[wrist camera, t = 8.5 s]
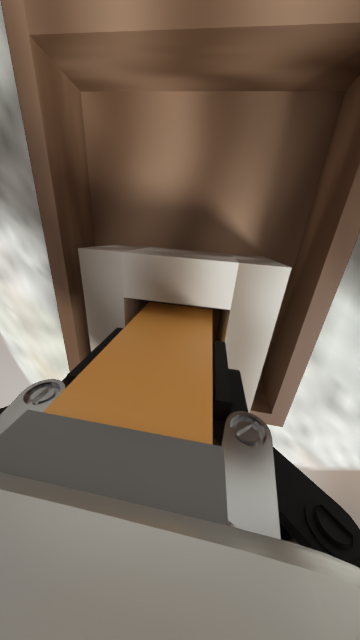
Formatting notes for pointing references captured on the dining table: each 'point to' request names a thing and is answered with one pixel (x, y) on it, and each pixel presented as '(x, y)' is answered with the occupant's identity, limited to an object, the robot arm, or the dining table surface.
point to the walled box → (195, 168)
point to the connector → (134, 421)
